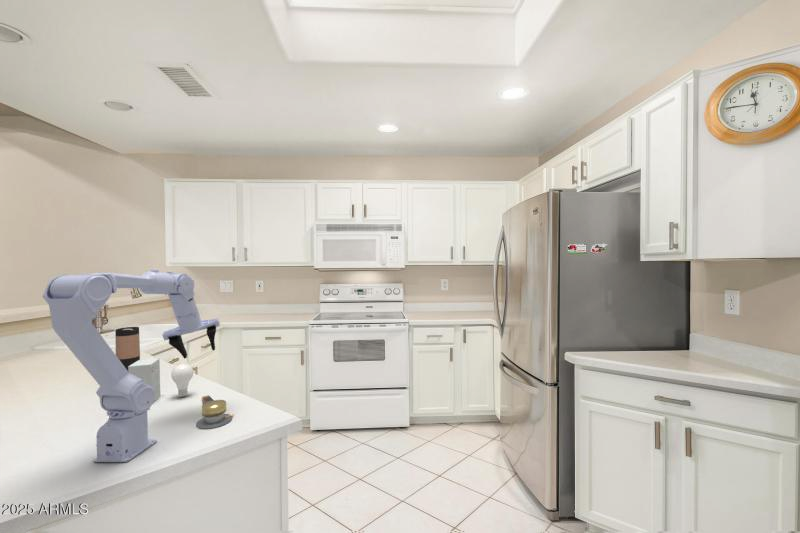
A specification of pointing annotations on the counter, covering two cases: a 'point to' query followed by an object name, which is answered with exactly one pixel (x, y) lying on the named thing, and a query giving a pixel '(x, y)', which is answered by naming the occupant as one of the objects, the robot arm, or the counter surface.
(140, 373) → the small box
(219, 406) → the collar
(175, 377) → the lightbulb
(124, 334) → the travel mug
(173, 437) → the counter surface
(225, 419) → the post base
